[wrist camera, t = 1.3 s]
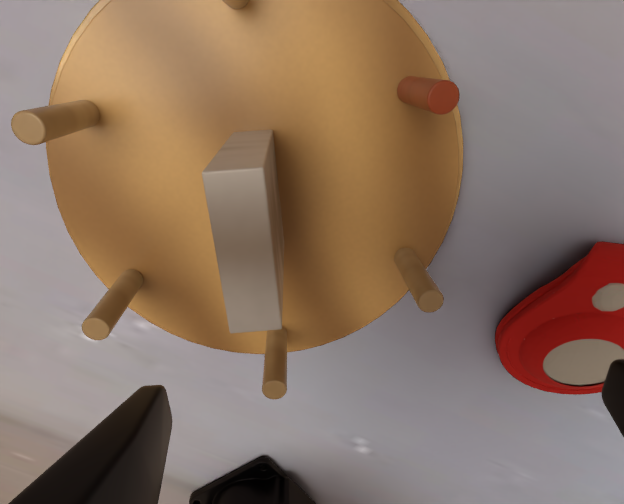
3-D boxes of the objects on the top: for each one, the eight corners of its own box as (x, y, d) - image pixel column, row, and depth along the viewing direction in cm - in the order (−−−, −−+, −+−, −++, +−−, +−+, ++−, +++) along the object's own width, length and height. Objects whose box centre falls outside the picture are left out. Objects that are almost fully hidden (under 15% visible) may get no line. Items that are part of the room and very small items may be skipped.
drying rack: (228, 397, 23) (204, 530, 16) (-39, 134, 17) (-249, 180, 10) (514, 233, 20) (626, 318, 13) (316, -171, 14) (341, -389, 7)
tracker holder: (481, 400, 25) (538, 274, 19) (473, 343, 28) (519, 219, 22) (709, 439, 23) (857, 313, 17) (671, 372, 27) (782, 247, 20)
